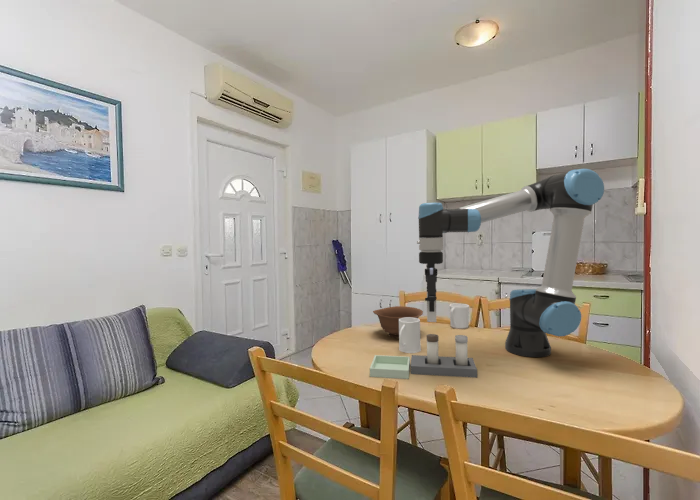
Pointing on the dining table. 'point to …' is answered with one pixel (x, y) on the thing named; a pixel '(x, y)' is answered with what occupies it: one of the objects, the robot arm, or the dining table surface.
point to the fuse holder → (447, 363)
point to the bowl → (395, 318)
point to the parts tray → (390, 367)
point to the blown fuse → (432, 349)
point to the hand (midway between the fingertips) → (431, 316)
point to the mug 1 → (409, 335)
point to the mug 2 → (459, 315)
